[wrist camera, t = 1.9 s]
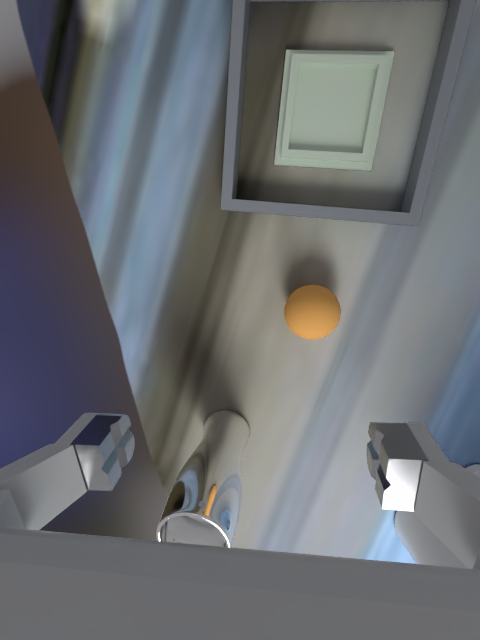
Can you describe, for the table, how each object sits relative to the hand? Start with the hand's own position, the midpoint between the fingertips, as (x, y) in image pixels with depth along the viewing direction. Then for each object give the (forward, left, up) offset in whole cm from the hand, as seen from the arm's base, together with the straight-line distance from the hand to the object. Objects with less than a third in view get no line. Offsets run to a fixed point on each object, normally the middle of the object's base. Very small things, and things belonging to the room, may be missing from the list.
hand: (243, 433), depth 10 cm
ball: (-4, +1, -22) cm, 22 cm away
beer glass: (+4, +19, -25) cm, 32 cm away
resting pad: (-3, -17, -24) cm, 30 cm away
